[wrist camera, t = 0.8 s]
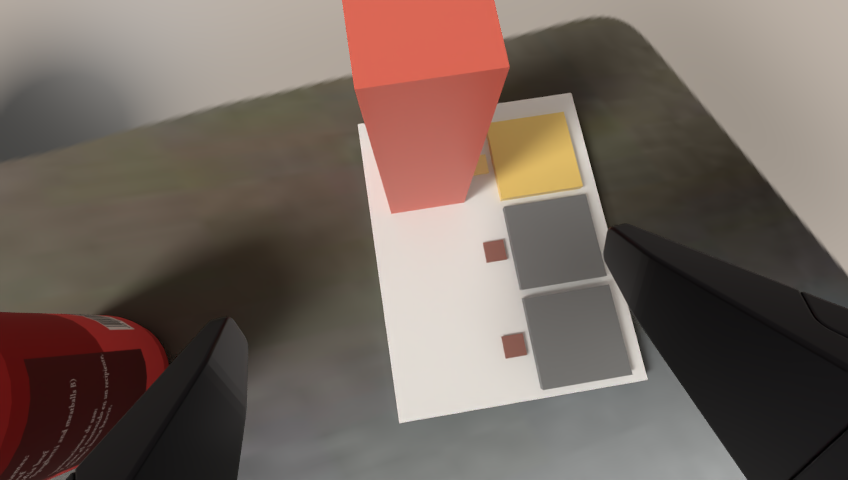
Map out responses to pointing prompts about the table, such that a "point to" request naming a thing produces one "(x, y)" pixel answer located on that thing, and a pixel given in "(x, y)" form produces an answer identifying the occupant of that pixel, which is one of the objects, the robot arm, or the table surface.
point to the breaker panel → (500, 289)
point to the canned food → (67, 386)
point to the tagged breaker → (533, 156)
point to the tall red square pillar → (426, 92)
